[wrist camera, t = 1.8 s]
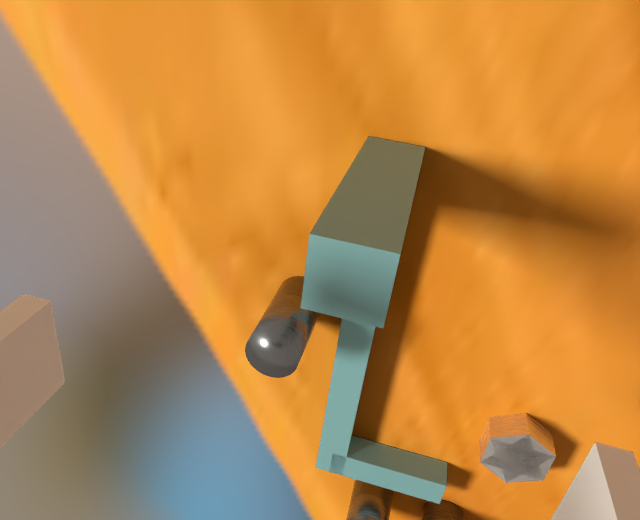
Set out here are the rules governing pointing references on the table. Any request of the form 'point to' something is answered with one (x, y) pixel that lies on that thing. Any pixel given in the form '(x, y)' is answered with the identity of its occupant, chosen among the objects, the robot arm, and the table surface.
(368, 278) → the teal bent bar
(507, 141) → the table surface
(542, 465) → the hexagonal star block
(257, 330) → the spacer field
